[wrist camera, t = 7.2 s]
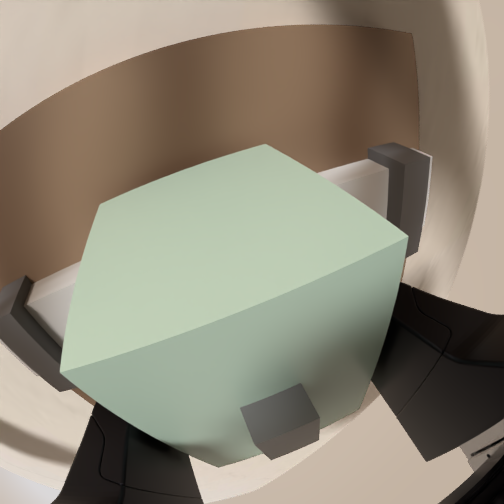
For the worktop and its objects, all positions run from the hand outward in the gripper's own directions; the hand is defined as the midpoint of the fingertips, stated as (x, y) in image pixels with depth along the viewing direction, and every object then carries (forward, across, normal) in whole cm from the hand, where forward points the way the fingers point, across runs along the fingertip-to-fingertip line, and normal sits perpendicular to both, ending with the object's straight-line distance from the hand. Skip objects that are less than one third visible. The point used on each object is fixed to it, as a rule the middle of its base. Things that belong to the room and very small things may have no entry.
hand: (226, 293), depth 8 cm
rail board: (+4, 0, 0) cm, 4 cm away
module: (+2, 0, 0) cm, 2 cm away
